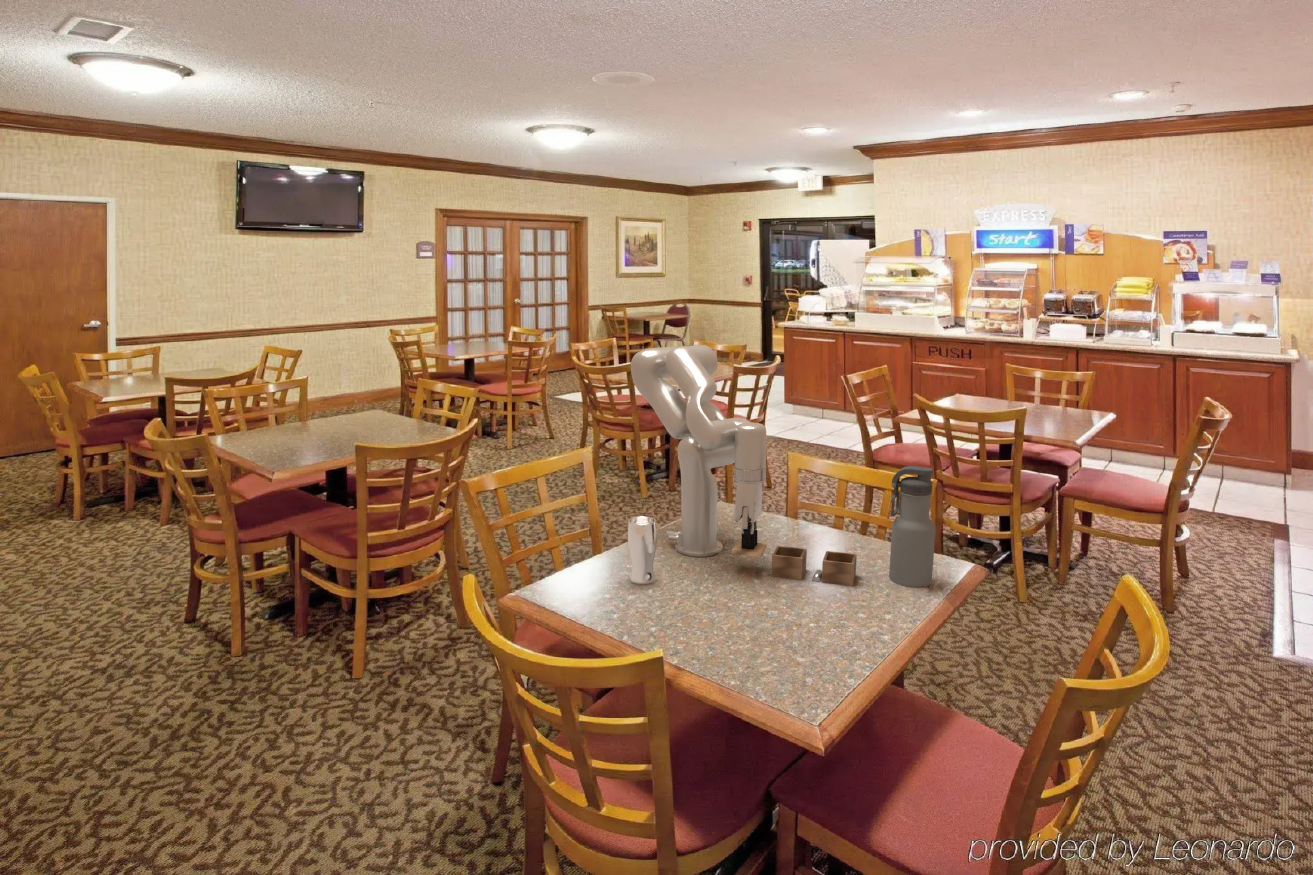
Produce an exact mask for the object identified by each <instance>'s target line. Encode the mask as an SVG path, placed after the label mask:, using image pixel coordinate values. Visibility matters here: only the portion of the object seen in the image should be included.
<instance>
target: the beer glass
mask: <svg viewBox="0 0 1313 875" xmlns="http://www.w3.org/2000/svg"><path fill="white" fill-rule="evenodd" d="M627 526H628V527H627V546H628V552H629V556H630V563H631V573H630V577H629V581H630V582H631V583H633V584H636V585H649V584H652V583H654V582H655V581H656V575H655V569H654V563H655V558H656V557H655V556H656V550H657V544H658V541H657V540H658V534H657V531H658V530H657V520H656V519H655V518H654V517H650V516H634V517H631V518H629V520H628V525H627Z"/></svg>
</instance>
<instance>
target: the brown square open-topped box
mask: <svg viewBox="0 0 1313 875" xmlns="http://www.w3.org/2000/svg"><path fill="white" fill-rule="evenodd" d="M857 557H858V554H857V553H850V552H849V553H848V552H841V551H840V552H839V551H833V550H826V552H825V554H824V557H823V558H822V564H821V565H822V567H821V568H822V569H821V570H822V579H821V583H822V584H830V585H838V586H839V585H840V586H848V587H854V584H855V579H856V576H857Z"/></svg>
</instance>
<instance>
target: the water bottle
mask: <svg viewBox="0 0 1313 875" xmlns="http://www.w3.org/2000/svg"><path fill="white" fill-rule="evenodd" d="M933 472H934V470H933V468H931V467H927V466H926V467H925V466H917V465H916V466H915V465H914V466H913V465H907V466H904V467H902V468H900V469H899V470H898V471H897V472H896V473H895V474H894V476H893V477H892V479H891V487H892V488H893V494H892V496H891V506H890V507H891V508H890V516H891V517H895V518H894V519H893V521H892V522H891V523H892V524H891V537H890V540H891V541H890V554H889V555H890V558H889V574H888V576H889V579H890V581H891V582H893V583H894V584H896V585H899V586H901V587H902V586H903V587H907V588H924V587H929V586H930V585H932V581H933V573H934V572H933V571H934V570H933V568H934V555H935V541H936V525H935V522H934V521H933V520H932V519H930V509H931V508H930V507H931V496H932V495H933V493H932V492H933V481H932V476H933ZM905 475H914V476H906V477H903V478H901V477H902V476H905ZM915 475H917V476H915ZM900 479H901V480H900ZM899 488H900V490H899ZM898 512H899V515H898V516H897V517H896V515H897V514H898Z"/></svg>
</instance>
